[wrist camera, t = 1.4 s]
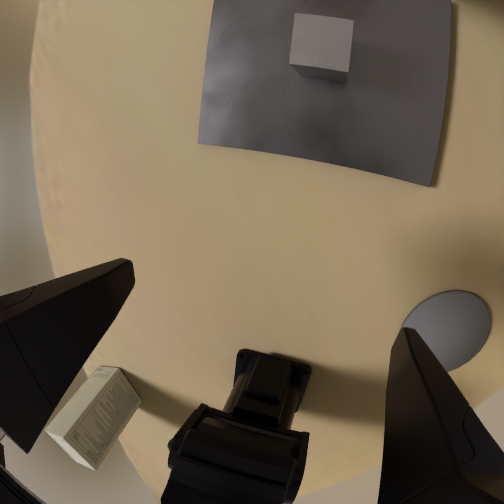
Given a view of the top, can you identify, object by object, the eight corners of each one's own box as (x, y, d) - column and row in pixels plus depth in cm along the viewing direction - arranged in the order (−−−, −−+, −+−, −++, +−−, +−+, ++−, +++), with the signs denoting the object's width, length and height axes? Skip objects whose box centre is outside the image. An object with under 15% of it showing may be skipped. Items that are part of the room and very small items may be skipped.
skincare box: (98, 364, 35) (41, 427, 24) (120, 366, 33) (61, 437, 23) (122, 399, 37) (74, 462, 26) (145, 403, 35) (96, 472, 25)
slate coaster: (461, 375, 22) (462, 378, 21) (383, 363, 23) (384, 366, 23) (503, 300, 18) (505, 302, 18) (420, 280, 20) (420, 283, 19)
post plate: (427, 185, 17) (448, 204, 13) (201, 142, 20) (166, 150, 16) (448, 1, 12) (470, -25, 8) (222, -29, 15) (194, -56, 11)
